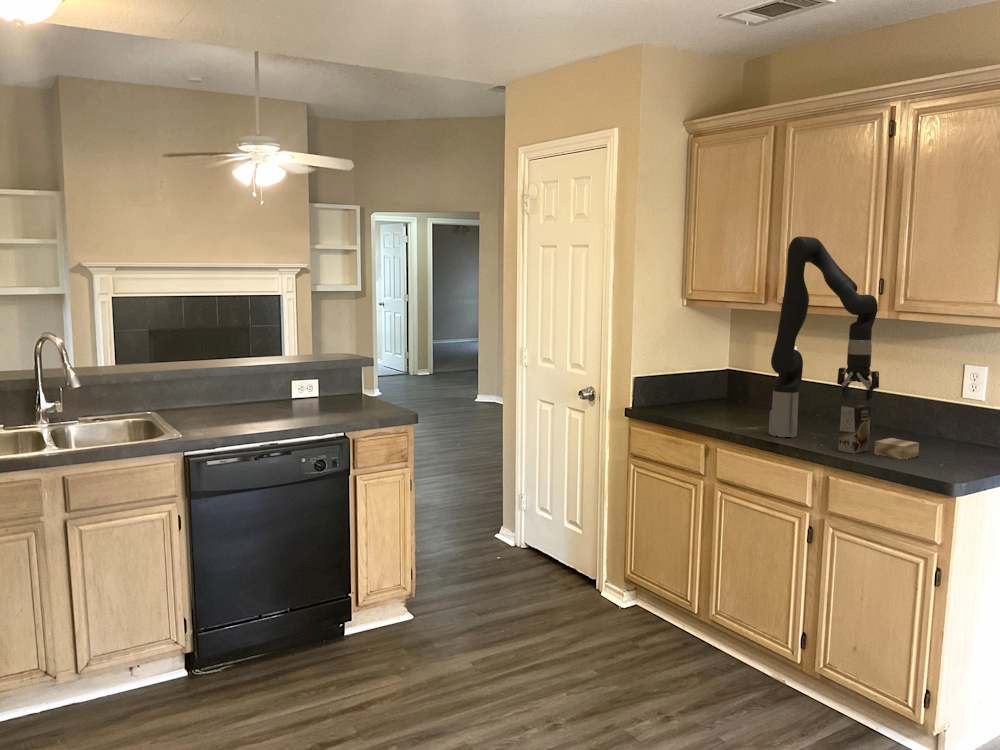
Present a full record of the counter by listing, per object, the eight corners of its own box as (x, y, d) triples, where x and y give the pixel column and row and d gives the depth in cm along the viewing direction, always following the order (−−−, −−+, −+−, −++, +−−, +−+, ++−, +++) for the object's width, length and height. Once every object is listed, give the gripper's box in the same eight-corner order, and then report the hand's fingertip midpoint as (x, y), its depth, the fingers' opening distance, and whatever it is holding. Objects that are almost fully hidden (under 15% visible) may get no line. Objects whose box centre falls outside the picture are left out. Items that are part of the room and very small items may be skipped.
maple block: (874, 455, 269) (875, 441, 269) (889, 451, 275) (890, 437, 274) (902, 461, 261) (904, 446, 261) (918, 457, 267) (919, 442, 266)
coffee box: (855, 454, 270) (858, 408, 268) (837, 450, 275) (840, 405, 273) (869, 450, 275) (872, 405, 273) (851, 447, 280) (854, 403, 278)
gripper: (834, 351, 275) (832, 397, 277) (872, 354, 263) (869, 402, 265) (847, 350, 279) (844, 395, 281) (885, 353, 267) (882, 400, 269)
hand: (856, 399), depth 273 cm, fingers open, 8 cm apart
